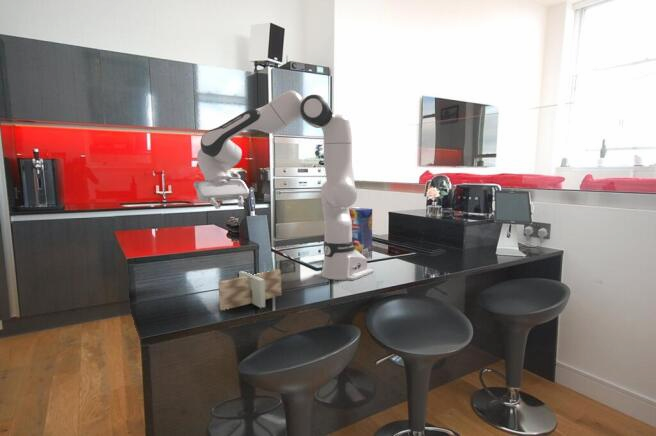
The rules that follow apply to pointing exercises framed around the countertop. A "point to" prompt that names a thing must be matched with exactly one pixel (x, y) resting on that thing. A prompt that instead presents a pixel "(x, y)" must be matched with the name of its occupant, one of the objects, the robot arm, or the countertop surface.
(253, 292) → the sage plate
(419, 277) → the countertop surface
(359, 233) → the juice carton
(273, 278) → the brown zigzag slotted board
